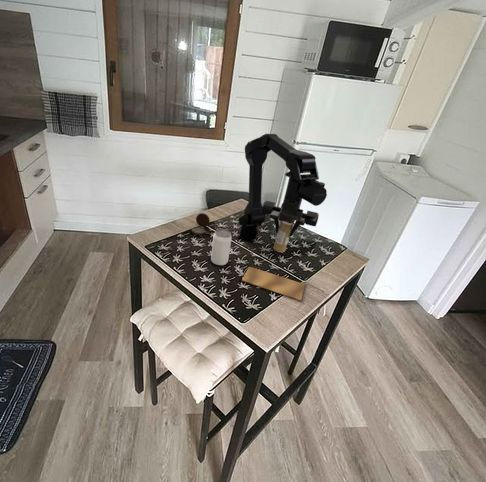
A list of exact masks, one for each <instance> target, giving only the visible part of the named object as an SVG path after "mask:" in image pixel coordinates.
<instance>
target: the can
mask: <svg viewBox="0 0 486 482" xmlns="http://www.w3.org/2000/svg"><path fill="white" fill-rule="evenodd" d="M232 238H233V237H232V232H231V231H230V230H228V229H227V228H217V229H216V230H215V231H214V233H213V238H212V245H211V255H210V261H211V262H212V264H214V265H216V266H225V265H227V264H228V263H229V259H230V251H231V246H232Z"/></svg>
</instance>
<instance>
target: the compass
mask: <svg viewBox="0 0 486 482" xmlns="http://www.w3.org/2000/svg"><path fill="white" fill-rule="evenodd" d="M195 221H196V224H197V225H198V226H194V227H192V228H191V231H190V232H191V233H192V234H193V235H196V236H203V235H205V234H206V235H208V234H210V232H207V230H206V229H205V227H207V226H209V225H210V217H209V215H208V214H206V213H205V212H200V213H199V214H197V215H196V217H195Z"/></svg>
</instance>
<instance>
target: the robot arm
mask: <svg viewBox="0 0 486 482" xmlns="http://www.w3.org/2000/svg"><path fill="white" fill-rule="evenodd" d="M269 152H273V153H274V154H275V155H277V156H278V157H280V158H281V159H282V160H283V161H284V162H285V167H286V168H287V169H288V172H285V174H284V176H286V177H288V181H287V184H286V189H285V193H284V197H283V201H282V203H281V205H280V206H276V204H277V203H276V202H274V201H270V200H265V201H264V202H263V203H262V192H263V191H262V189H263V166H264V163H265V162H266V160H267V158H268V153H269ZM244 156H245V160H246V162H247V164H248V167H249V168H248V169H249V170H248V175H249V176H248V202H247V204H246V206H245V207H244V211H243V215H241V216H240V217H239V218H238V224H239V225H240V226H241V227H240V233H239V235H238V239H240V240H244V241H247V242H250V243H253V242H254V241H255V240H256V239H257V237H258V233H259V228H258V227H259V226H260V227H261V226H262V225H263V224H264V222H265V221H266V218H267V215H268V216H269V215H270V216H269V217H270V218H272V219H273V221H274V226H275V232H276V234H277V233H278V230H279V227H280V223H281V221H285V222H288V223H293V222H294V220H295V222H294V224H293V226H292V229H291V233H290V236H289V238H291V237H292V236H293V235H294V233H295V232H296V230H297V229H298V228H299V227H301V226H305V225H307V226H311V227H317V224H318V220H319V217H320V216H319V212H316V211H311V210H307V211H306V212H304V209H301V205H302V201H303V200H304V201H306V202H308V203H309V204H311V205H313V206H315V207H317V206H320V205H322V204H323V203H324V201H325V200H326V198H327V196H328V193H327V189H326V188H325V185H326V183H325V182H323V181H319V179H320V176H319V171H318V166H317V161H316V157H315V155H314V154H312V153H310V152H307V151H304V150H299V149H297V148H295V147H293V146H292V145H291V144H289V143H288V142H286V141H285V140H284V139H282V138H281V137H280V136H279V135H278V134H276V133H264V134H262V135H261V136H259V137H256V138H254V139H252V140H249V141H248V142H247V143H246V145H244Z"/></svg>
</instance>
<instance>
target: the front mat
mask: <svg viewBox="0 0 486 482" xmlns="http://www.w3.org/2000/svg"><path fill="white" fill-rule="evenodd" d="M241 282H244V283H247V284H250V285H253V286H256V287H258V288H261V289H264V290H267V291H270V292H273V293H276V294H279V295H281V296H285V297H288V298H290V299H293V300H297V301H299V302H301V301H302V299H303V295H304V294H303V293H304V290H305V286H306V284H305V283H302V282H300V281H297V280H292V279H289V278H288V277H283V276H281V275H277V274H274V273H272V272H268V271H265V270H262V269H259V268H256V267H253V266H248V268H247V269H246V272H245V273H244V275H243V277H242V279H241Z"/></svg>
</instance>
